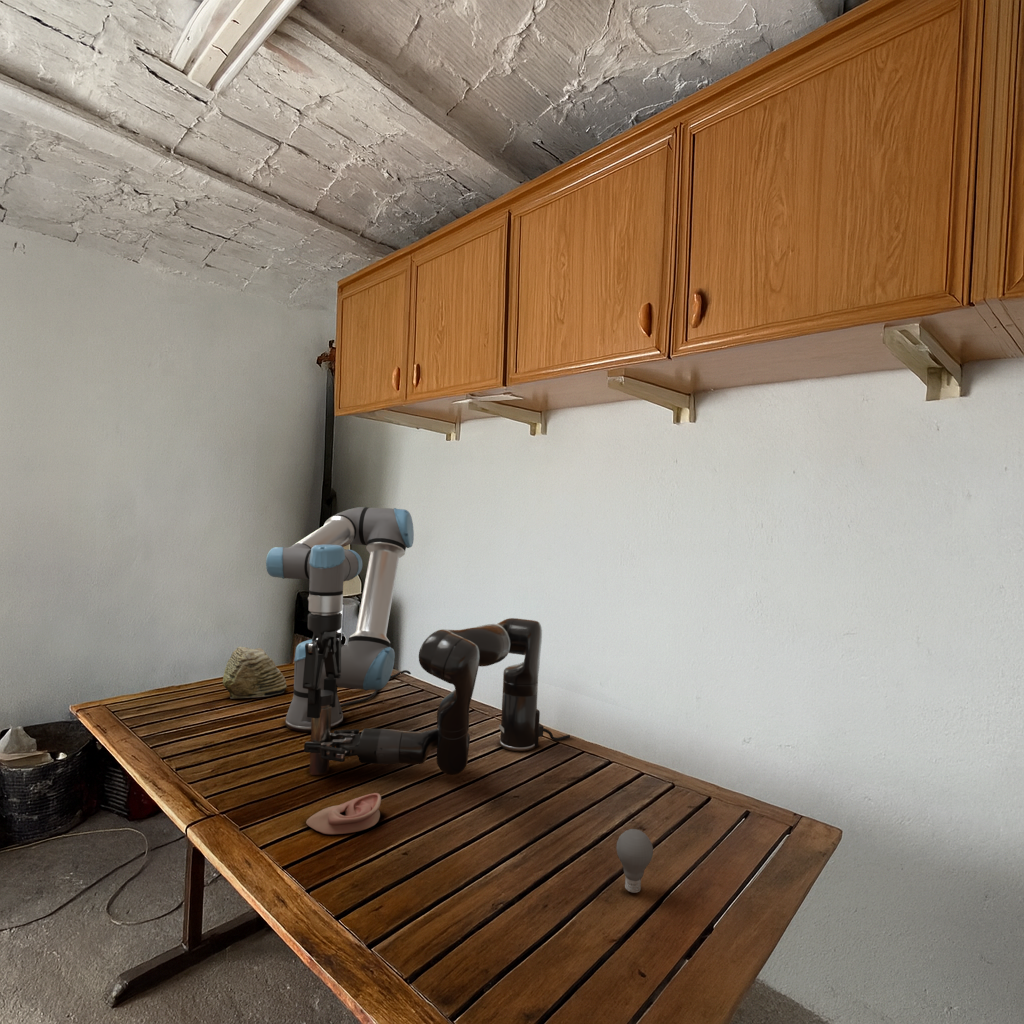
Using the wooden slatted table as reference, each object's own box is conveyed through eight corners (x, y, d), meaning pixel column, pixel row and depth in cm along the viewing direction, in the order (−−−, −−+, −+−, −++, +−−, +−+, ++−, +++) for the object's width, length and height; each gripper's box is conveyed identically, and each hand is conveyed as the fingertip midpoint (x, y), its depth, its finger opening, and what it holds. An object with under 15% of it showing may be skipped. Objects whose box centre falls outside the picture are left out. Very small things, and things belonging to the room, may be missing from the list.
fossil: (218, 695, 195) (220, 647, 195) (278, 685, 208) (279, 640, 207) (228, 703, 189) (230, 653, 188) (289, 692, 201) (290, 645, 201)
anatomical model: (298, 809, 120) (327, 783, 131) (297, 830, 120) (327, 802, 131) (363, 819, 117) (388, 791, 128) (362, 840, 117) (387, 811, 128)
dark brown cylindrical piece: (321, 776, 143) (324, 701, 143) (305, 773, 145) (308, 699, 144) (332, 769, 147) (335, 696, 147) (316, 766, 149) (319, 694, 148)
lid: (337, 703, 145) (337, 694, 145) (315, 707, 142) (316, 697, 142) (327, 697, 149) (327, 688, 149) (306, 701, 146) (307, 692, 146)
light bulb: (610, 879, 108) (613, 822, 108) (644, 879, 109) (647, 822, 109) (619, 902, 102) (622, 840, 102) (655, 901, 103) (658, 840, 103)
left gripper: (329, 604, 156) (326, 697, 156) (287, 618, 136) (283, 724, 137) (358, 606, 154) (354, 700, 155) (320, 621, 135) (316, 728, 135)
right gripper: (389, 719, 153) (318, 716, 153) (375, 742, 138) (297, 738, 139) (388, 750, 153) (317, 746, 153) (374, 776, 139) (296, 772, 139)
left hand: (321, 711), depth 146 cm, fingers open, 7 cm apart
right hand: (308, 742), depth 146 cm, fingers closed on dark brown cylindrical piece, 4 cm apart
